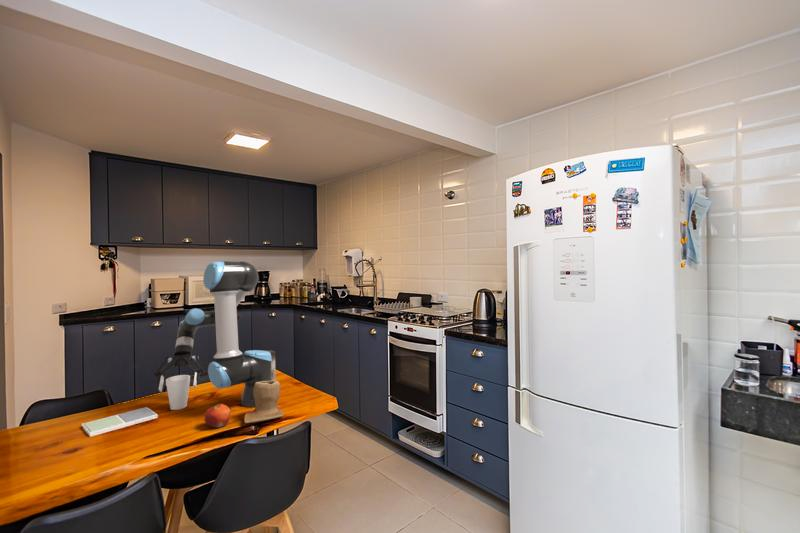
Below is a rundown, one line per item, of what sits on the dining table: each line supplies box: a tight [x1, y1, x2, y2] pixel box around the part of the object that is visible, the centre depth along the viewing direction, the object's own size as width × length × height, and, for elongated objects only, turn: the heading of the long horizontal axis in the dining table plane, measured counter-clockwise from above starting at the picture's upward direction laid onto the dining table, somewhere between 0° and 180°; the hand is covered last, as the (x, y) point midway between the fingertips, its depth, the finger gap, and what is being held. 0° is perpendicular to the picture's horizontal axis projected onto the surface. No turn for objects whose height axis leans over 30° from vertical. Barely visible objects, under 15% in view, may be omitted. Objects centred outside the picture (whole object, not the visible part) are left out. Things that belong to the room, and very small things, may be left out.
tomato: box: [204, 403, 231, 428], centre depth 146 cm, size 9×9×8 cm
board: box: [81, 406, 159, 437], centre depth 151 cm, size 14×22×2 cm, turn 140°
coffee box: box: [267, 349, 276, 381], centre depth 202 cm, size 9×6×16 cm
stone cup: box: [243, 380, 284, 424], centre depth 152 cm, size 15×12×15 cm
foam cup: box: [165, 374, 191, 411], centre depth 166 cm, size 10×9×13 cm
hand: (177, 388), depth 167 cm, fingers open, 13 cm apart
